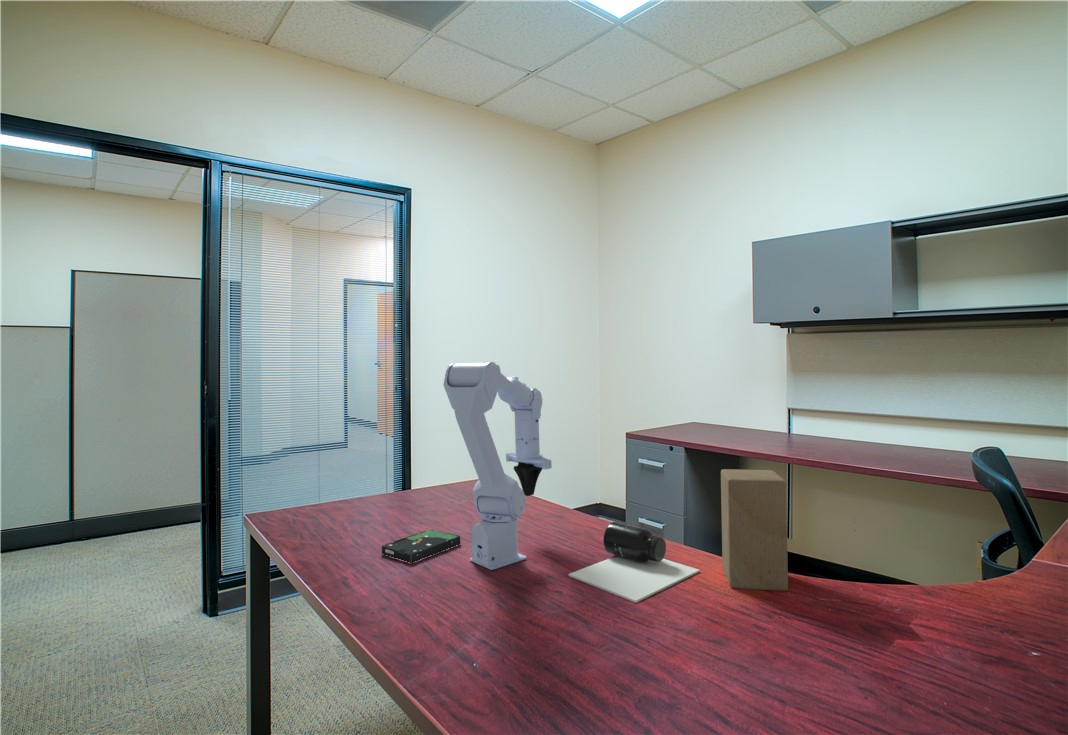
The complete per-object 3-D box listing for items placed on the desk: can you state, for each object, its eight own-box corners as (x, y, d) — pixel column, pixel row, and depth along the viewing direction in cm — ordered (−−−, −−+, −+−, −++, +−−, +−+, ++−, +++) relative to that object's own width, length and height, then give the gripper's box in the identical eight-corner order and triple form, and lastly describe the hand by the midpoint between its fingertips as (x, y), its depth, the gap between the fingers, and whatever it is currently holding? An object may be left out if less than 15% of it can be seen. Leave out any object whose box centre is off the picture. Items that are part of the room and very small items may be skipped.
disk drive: (412, 567, 114) (461, 546, 126) (411, 554, 114) (461, 534, 126) (381, 558, 120) (430, 538, 132) (380, 545, 120) (430, 527, 132)
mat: (635, 602, 94) (635, 600, 94) (568, 576, 106) (568, 573, 106) (699, 571, 107) (699, 569, 107) (633, 551, 119) (633, 549, 119)
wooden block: (788, 592, 97) (786, 480, 97) (729, 588, 99) (727, 479, 99) (775, 571, 106) (773, 469, 106) (722, 568, 108) (720, 468, 108)
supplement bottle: (598, 550, 114) (648, 564, 106) (606, 518, 116) (655, 529, 108) (616, 555, 119) (665, 569, 110) (623, 524, 121) (671, 535, 112)
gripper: (560, 439, 126) (562, 497, 126) (520, 433, 137) (522, 486, 137) (537, 443, 121) (539, 503, 122) (498, 436, 132) (500, 492, 133)
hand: (528, 494), depth 129 cm, fingers closed
